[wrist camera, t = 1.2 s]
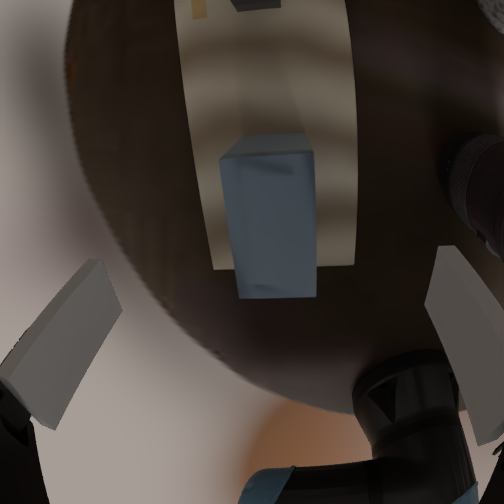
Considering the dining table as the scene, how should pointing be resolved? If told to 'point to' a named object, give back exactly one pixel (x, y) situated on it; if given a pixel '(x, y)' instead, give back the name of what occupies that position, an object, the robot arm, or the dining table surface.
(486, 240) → the camera lens
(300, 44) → the board
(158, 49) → the dining table surface
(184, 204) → the dining table surface
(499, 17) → the mug
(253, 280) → the block
